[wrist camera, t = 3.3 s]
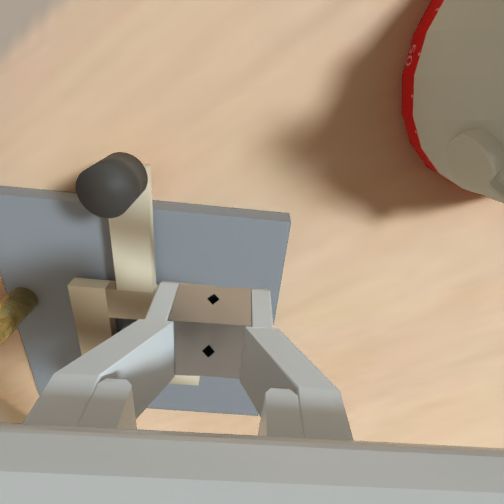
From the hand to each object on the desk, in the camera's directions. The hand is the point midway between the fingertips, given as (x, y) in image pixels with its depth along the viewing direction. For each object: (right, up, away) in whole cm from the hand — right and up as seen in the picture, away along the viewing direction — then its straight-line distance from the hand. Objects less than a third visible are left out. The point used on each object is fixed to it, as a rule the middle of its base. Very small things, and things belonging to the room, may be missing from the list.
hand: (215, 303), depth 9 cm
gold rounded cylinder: (-16, -2, +15) cm, 22 cm away
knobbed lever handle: (-7, -1, +14) cm, 16 cm away
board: (-7, -4, +18) cm, 20 cm away
